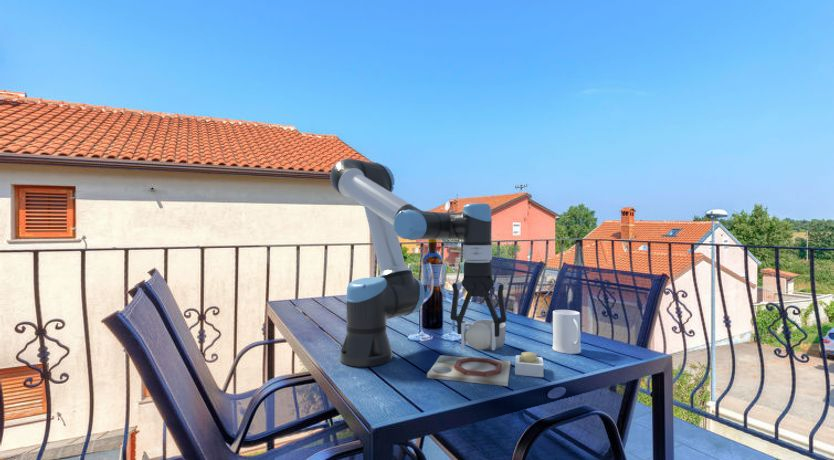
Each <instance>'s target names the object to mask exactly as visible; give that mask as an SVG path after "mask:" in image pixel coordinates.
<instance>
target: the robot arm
mask: <svg viewBox="0 0 834 460" xmlns="http://www.w3.org/2000/svg"><path fill="white" fill-rule="evenodd" d="M329 180H330V184H331V186H332V187H333V189H334V190H335V191H336V192H338V193H339V194H341V196H342V197H346V198H352V199H353V200H355V201H356V202H358V204H359V205H360V206H362V207H364V212H365V215H366V219H367V223H368V228H369V231H370V236H371V239H372V244H373V248H374V253H375V256H376V260H377V264H378V268H379V269H378V270H379V275H378V276H371V277H370V276H369V277H362V278H357V279H354V280H353V281H351V282H349V283H348V284H347V288H346V296H345V301H346V334H345V337H344V339H343V343H342V347H341V350H340V353H339V354H340V357H339V358H340V360H339V361H340V362H341V363H342V364H343V365H347V366H351V367H356V368H358V367H359V368H360V367H361V368H362V367H365V368H367V367H376V366H380V365H385V364H386V363H389V362H390V361H392V359H393V349H392V346H391V343H390V339H389V337H388V333H387V320H389V319H394V318H399V317H407V316H410V315H411V314H415V313H417V312H418V311H419V310H420V309H421V308H422V307H423V303H424V302H425V295H426V293H425V292H426V291H425V287H424V284H423V283H422V281H420V280H419V279H418V278H416V277H414V274H413V271H412V269H411V268H410V267H408V266H406V262H405V258H404V255H403V251H402V247H401V243H400V240H399V238H401V239H403V240H409V241H417V240H437V241H439V240H440V241H444V240H462V241H463V260H464V261H465V262H464V263H463V279H462V281H458V282H453V283H452V284H451V287H452V291H453V293H452V302H451V309H450V320H452V321H455V322H456V323H457V324H456V326H457V328H456V330H457V334H458V335H460V336H461V338H460V339H461V341H460V343H461V349H465V348H466V345H467V341H466V340H465V332H466V330H467V326H466V323H467V322H466V321H465V320H464V317H465V315H466V312H467V309H468V307H469V304H470V301H471V299H472V298H473V297H480V298H484V301H485V303H486V305H487V308H488V310H489V313H490V315H491V318H492V320H493V321H494V323H492V350H491V351H496V350H495V348H496V342H495V337H499V334H500V324H501V323H505V324H506V322H507V312H506V306H505V299H504V288H505V285H504V283H499V282H495V281H494V279H493V263H492V262H491V260H493V245H492V222H493V219H492V208H491V205H490V204H489V203H485V202H484V203H483V202H478V203H477V202H476V203H475V202H474V203H466V204H464V205H463V207H462V211H461V212H441V211H440V212H439V211H426V210H422V209H420V208H418V207H417V206H414V205H413V204H411V203H409V202H408V201H406V200H404V199H403V198H401V197H399V196H398V195H396V194H394V193H393V191H394V186H395V177H394V173H393V171H392V170H391V169H390V167H388V166H387V165H384V164H381V163H380V162H379V163H378V162H371V161H365V160H360V159H356V158H345V159H341V160H338V161H337V162H336V163H335V164H334V165H333V167H332V168H331V170H330V174H329ZM462 287H463V288H464V290H465V291H466V294H465V298H464V301H463V304H462V305H461V308H460V310H459V311H460V312H459V314H457V313H458V308H459V307H458V305H459V298H460V291H461V289H462ZM492 288H494V289H495V292H497V299H498V307H499V314H500V317H499V315H498V313H497V310H496V307H495V305H494V303H493V300H492V297H491V295H490V291H491V290H492Z"/></svg>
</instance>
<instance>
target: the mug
mask: <svg viewBox="0 0 834 460" xmlns="http://www.w3.org/2000/svg"><path fill="white" fill-rule="evenodd" d="M581 335H582V333H581V313H580V312H579V311H576V310H569V309H555V310H553V311H552V350H553V351H554V352H557V353H560V354H566V355H567V354H568V355H575V354H580V353H582V348H581V347H582V346H581Z"/></svg>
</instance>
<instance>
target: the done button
mask: <svg viewBox="0 0 834 460" xmlns="http://www.w3.org/2000/svg"><path fill="white" fill-rule="evenodd" d="M520 355H521V360H522V361H524V362H530V363H533V362H537V357H538V354H537V353H536V352H532V351H523V352H521V354H520Z"/></svg>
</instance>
